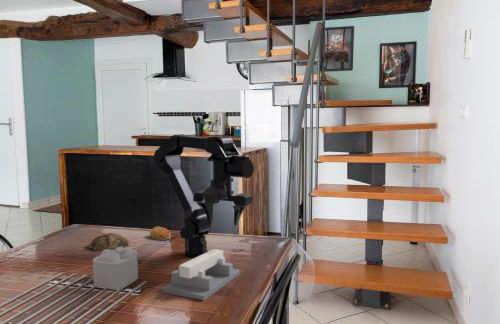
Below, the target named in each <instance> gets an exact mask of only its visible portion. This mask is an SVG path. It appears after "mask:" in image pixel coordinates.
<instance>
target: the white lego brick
mask: <svg viewBox="0 0 500 324" xmlns="http://www.w3.org/2000/svg"><path fill="white" fill-rule="evenodd" d="M138 266H139V265H138V252H137V250H135V249H133V248H131V247H118V248H116V249H115V250H109V249H105V250H103V251H101V253H100V254H99V255H97V256H96V257H94V258H92V275H93V286H94V287H95V286H96V287H95V288H103V287H104V288H105V289H109V290H119V289H122V288H125V287H127V286H129V285H131V284H132V283H134V282H136V281H137V279H139V267H138Z"/></svg>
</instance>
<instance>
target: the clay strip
mask: <svg viewBox="0 0 500 324" xmlns="http://www.w3.org/2000/svg"><path fill="white" fill-rule="evenodd" d="M207 251H208V252H206V253H204V254H202V255H200V256H198V257H193V258H192V259H190V260H188V261H186V262H184V263H181V264H180V265H179V266H178V268H179V269H178V271H179V273H180V277H185V278H189V279H190V278H192V277H194V276H196V275H198V271H199V270H201V269H202V270H207V269H209V268H211V267H212V266H214V265H216V264H218V263H219V258H221V257H225V256H224V250H223V249H222V250H221V249H219V248H218V249H216V248H213V249H211V250H207Z"/></svg>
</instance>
